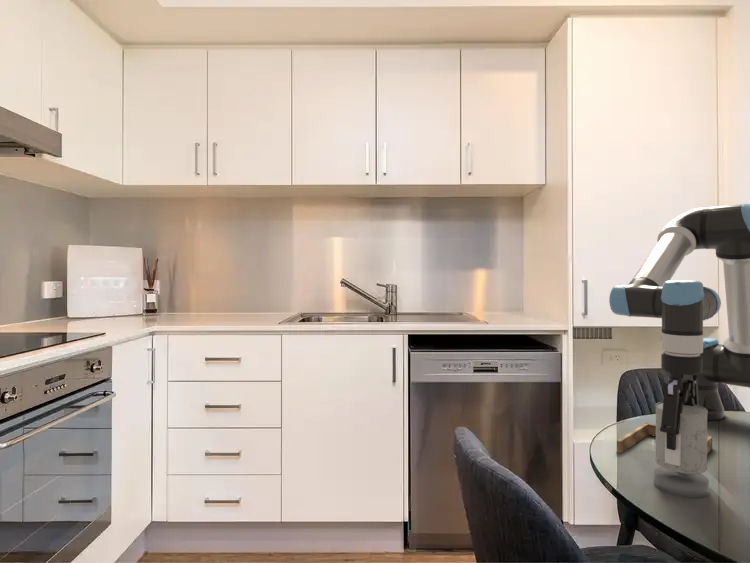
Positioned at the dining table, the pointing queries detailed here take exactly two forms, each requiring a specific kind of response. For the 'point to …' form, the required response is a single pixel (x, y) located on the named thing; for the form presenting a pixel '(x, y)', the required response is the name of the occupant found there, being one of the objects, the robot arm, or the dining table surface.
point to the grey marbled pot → (685, 440)
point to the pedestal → (681, 483)
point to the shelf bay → (641, 433)
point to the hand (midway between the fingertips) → (680, 456)
